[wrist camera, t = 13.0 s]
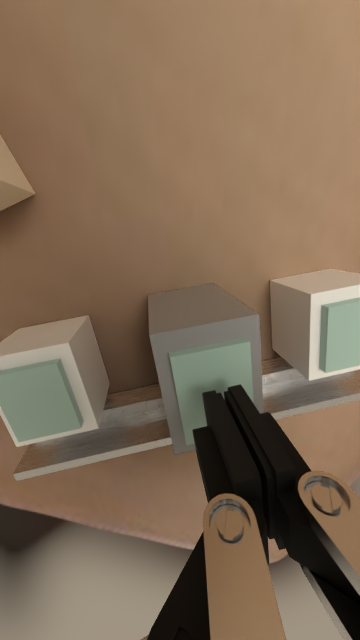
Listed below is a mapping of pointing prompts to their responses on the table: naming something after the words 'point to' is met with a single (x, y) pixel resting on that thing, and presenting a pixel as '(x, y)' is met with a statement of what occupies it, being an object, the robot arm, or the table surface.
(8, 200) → the cream cube
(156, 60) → the table surface
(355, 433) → the table surface
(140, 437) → the rail
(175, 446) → the block
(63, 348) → the mounted modules
